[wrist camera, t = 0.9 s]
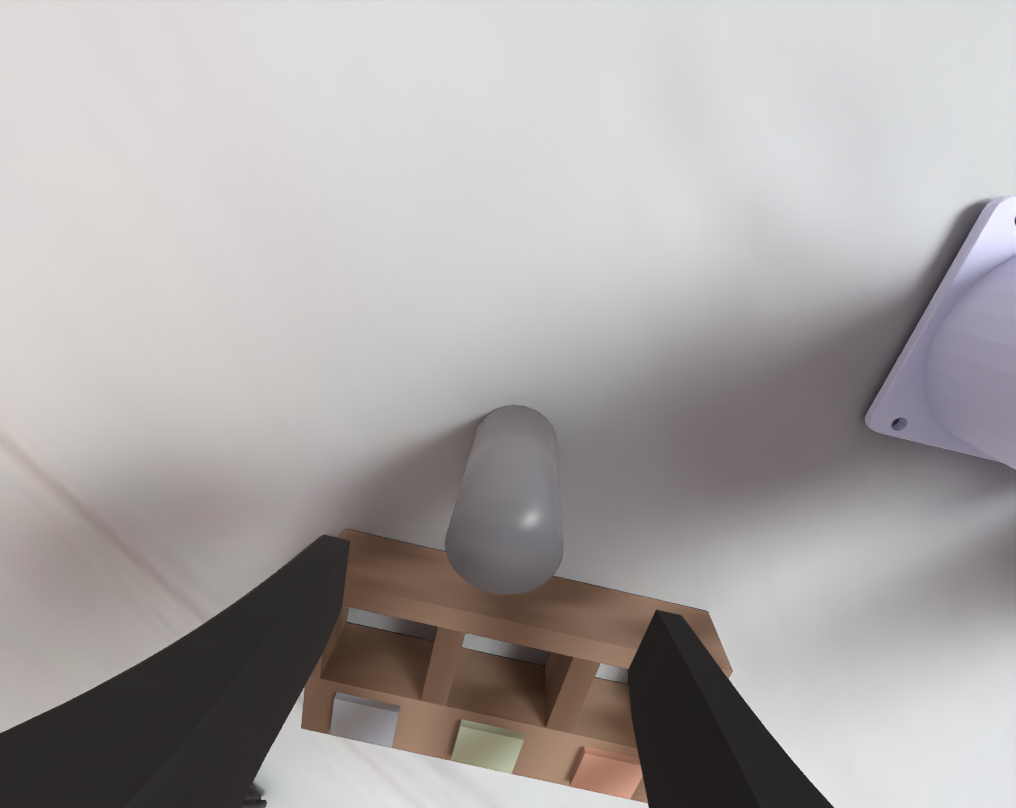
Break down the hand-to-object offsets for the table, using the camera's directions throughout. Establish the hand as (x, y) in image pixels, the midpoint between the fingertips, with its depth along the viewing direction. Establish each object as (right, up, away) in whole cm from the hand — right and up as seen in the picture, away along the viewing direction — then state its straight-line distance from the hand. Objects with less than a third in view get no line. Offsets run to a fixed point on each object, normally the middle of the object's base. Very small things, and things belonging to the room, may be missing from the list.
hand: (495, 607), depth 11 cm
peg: (+1, +3, +8) cm, 9 cm away
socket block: (0, -7, +12) cm, 14 cm away
